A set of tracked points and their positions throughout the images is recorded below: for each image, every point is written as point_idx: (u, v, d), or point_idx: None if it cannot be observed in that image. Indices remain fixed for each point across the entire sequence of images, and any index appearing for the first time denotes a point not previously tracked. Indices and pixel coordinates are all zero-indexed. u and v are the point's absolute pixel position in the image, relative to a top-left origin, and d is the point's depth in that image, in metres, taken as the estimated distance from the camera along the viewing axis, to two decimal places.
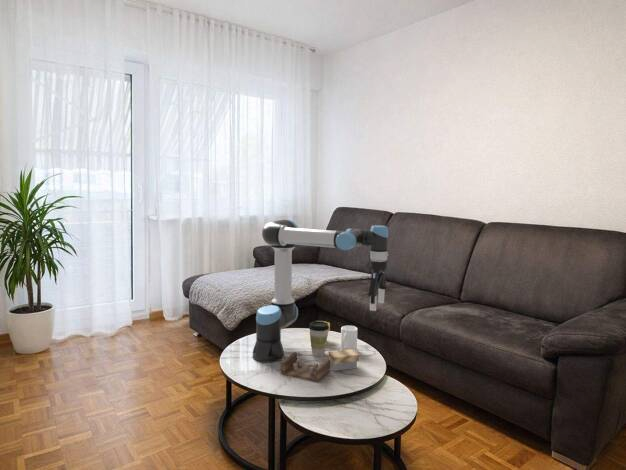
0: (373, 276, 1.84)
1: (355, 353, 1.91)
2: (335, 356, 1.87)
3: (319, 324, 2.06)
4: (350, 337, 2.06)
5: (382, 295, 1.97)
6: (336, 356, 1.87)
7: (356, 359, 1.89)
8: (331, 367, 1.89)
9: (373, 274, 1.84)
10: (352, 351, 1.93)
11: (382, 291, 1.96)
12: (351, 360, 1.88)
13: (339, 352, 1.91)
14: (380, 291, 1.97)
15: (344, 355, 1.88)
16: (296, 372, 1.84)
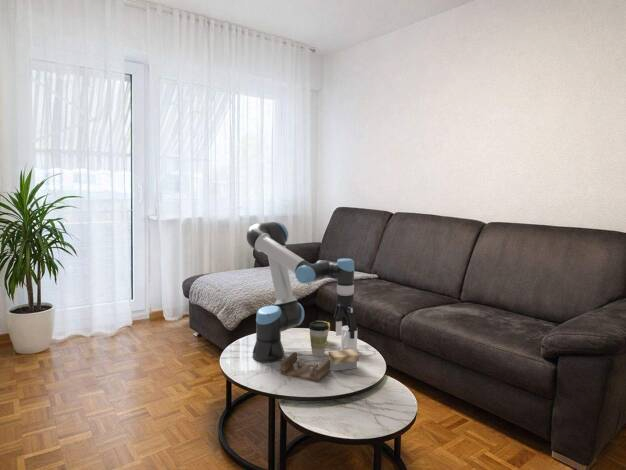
0: (351, 311, 1.82)
1: (355, 353, 1.91)
2: (335, 356, 1.87)
3: (319, 324, 2.06)
4: None
5: (340, 327, 1.96)
6: (336, 356, 1.87)
7: (356, 359, 1.89)
8: (331, 367, 1.89)
9: (350, 309, 1.82)
10: (352, 351, 1.93)
11: (340, 323, 1.95)
12: (351, 360, 1.88)
13: (339, 352, 1.91)
14: (338, 324, 1.95)
15: (344, 355, 1.88)
16: (296, 372, 1.84)
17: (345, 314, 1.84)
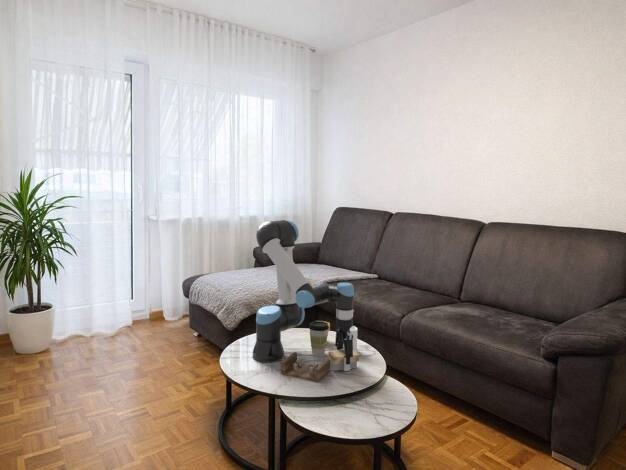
0: (349, 338, 1.83)
1: (355, 353, 1.91)
2: (335, 356, 1.87)
3: (319, 324, 2.06)
4: None
5: None
6: (336, 356, 1.87)
7: (356, 359, 1.89)
8: (331, 367, 1.89)
9: (349, 336, 1.83)
10: None
11: None
12: (351, 360, 1.88)
13: (339, 352, 1.91)
14: None
15: (344, 355, 1.88)
16: (296, 372, 1.84)
17: (343, 339, 1.87)
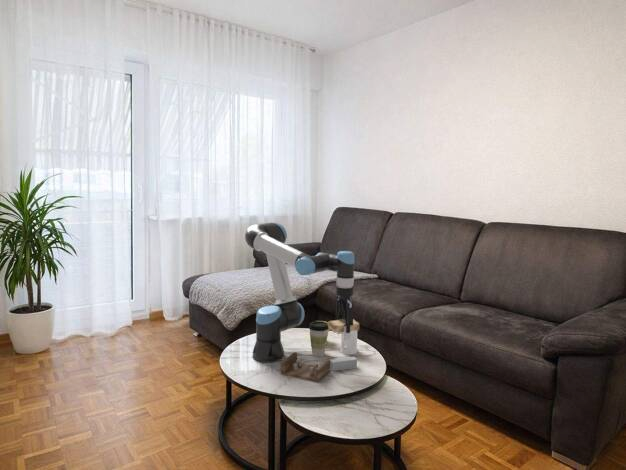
0: (350, 306, 1.82)
1: (355, 322, 1.89)
2: (335, 325, 1.85)
3: (319, 324, 2.06)
4: (350, 337, 2.06)
5: None
6: (336, 325, 1.85)
7: (356, 328, 1.88)
8: (331, 367, 1.89)
9: (350, 304, 1.81)
10: (353, 321, 1.91)
11: None
12: (351, 329, 1.87)
13: (339, 321, 1.90)
14: None
15: (344, 324, 1.86)
16: (296, 372, 1.84)
17: (343, 308, 1.85)
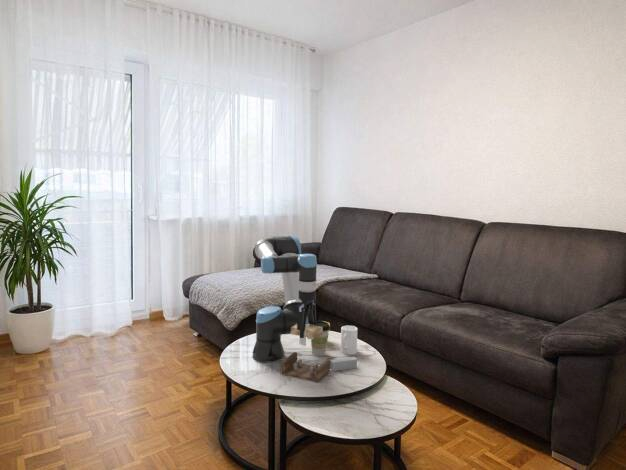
0: (299, 310, 1.77)
1: (315, 330, 1.80)
2: (294, 327, 1.84)
3: (320, 324, 2.06)
4: (350, 337, 2.06)
5: None
6: (294, 327, 1.83)
7: (313, 336, 1.79)
8: (331, 367, 1.89)
9: (299, 308, 1.77)
10: (317, 328, 1.82)
11: None
12: (308, 335, 1.80)
13: None
14: None
15: None
16: (296, 372, 1.84)
17: None
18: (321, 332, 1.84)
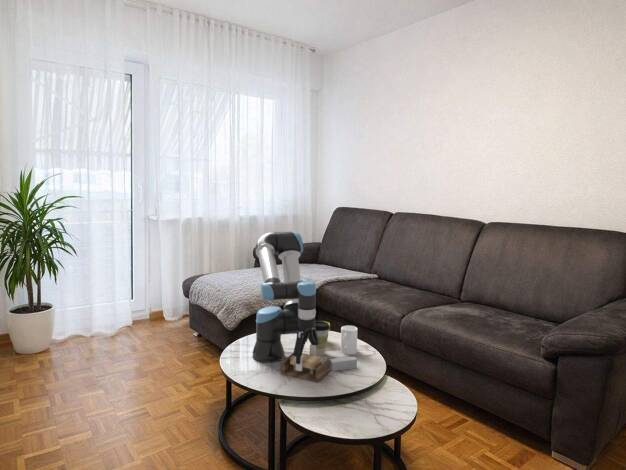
0: (298, 335, 1.78)
1: (314, 361, 1.82)
2: (293, 357, 1.85)
3: (320, 324, 2.06)
4: (350, 337, 2.06)
5: (313, 351, 1.91)
6: (294, 357, 1.85)
7: (312, 367, 1.80)
8: (331, 367, 1.89)
9: (298, 333, 1.78)
10: (316, 358, 1.84)
11: (313, 347, 1.91)
12: (307, 366, 1.82)
13: (304, 355, 1.87)
14: (311, 347, 1.91)
15: (302, 359, 1.83)
16: (296, 372, 1.84)
17: None
18: (320, 362, 1.85)
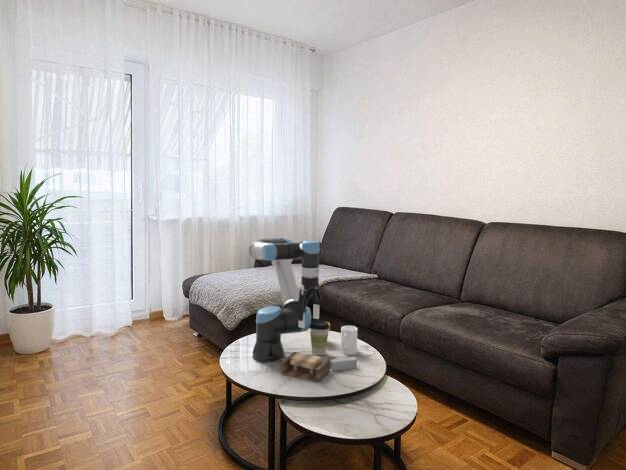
0: (301, 293, 1.80)
1: (314, 361, 1.82)
2: (293, 357, 1.85)
3: (320, 323, 2.07)
4: (350, 337, 2.06)
5: (317, 311, 1.93)
6: (294, 357, 1.85)
7: (312, 367, 1.80)
8: (331, 367, 1.89)
9: (301, 291, 1.80)
10: (316, 358, 1.84)
11: (317, 307, 1.93)
12: (307, 366, 1.82)
13: (304, 355, 1.87)
14: (314, 307, 1.93)
15: (302, 359, 1.83)
16: (296, 372, 1.84)
17: None
18: (320, 362, 1.85)
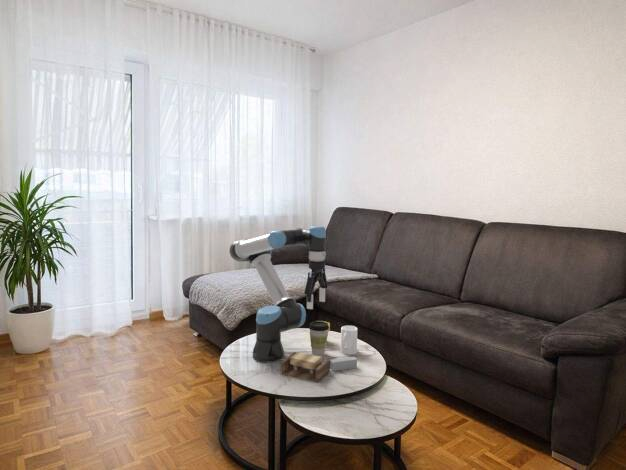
0: (309, 275, 1.89)
1: (314, 361, 1.82)
2: (293, 357, 1.85)
3: (319, 324, 2.06)
4: (350, 337, 2.06)
5: (323, 294, 2.02)
6: (294, 357, 1.85)
7: (312, 367, 1.80)
8: (331, 367, 1.89)
9: (309, 273, 1.89)
10: (316, 358, 1.84)
11: (323, 290, 2.01)
12: (307, 366, 1.82)
13: (304, 355, 1.87)
14: (320, 290, 2.02)
15: (302, 359, 1.83)
16: (296, 372, 1.84)
17: None
18: (320, 362, 1.85)
